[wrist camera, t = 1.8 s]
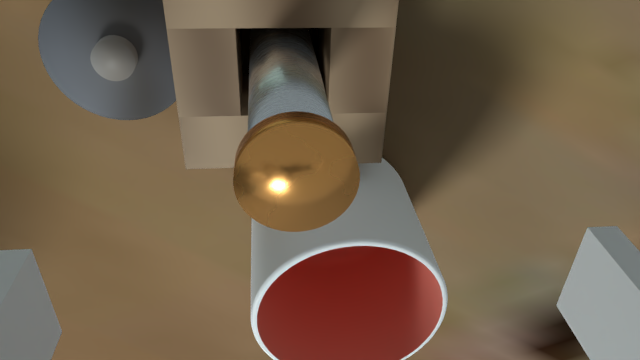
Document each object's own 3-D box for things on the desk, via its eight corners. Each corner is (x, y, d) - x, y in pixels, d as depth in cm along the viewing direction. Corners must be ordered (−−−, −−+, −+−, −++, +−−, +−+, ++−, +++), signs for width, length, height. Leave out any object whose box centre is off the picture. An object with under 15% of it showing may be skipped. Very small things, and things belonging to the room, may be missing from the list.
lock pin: (244, 73, 29) (237, 234, 17) (240, -1, 27) (228, 128, 15) (316, 72, 29) (355, 229, 18) (317, -1, 27) (364, 124, 16)
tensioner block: (79, 125, 30) (50, 173, 25) (29, -67, 24) (-18, -46, 20) (364, 119, 31) (381, 162, 27) (379, -63, 26) (403, -42, 22)
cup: (279, 272, 38) (285, 396, 29) (229, 160, 32) (219, 275, 24) (413, 235, 37) (459, 351, 29) (386, 114, 31) (433, 215, 23)
